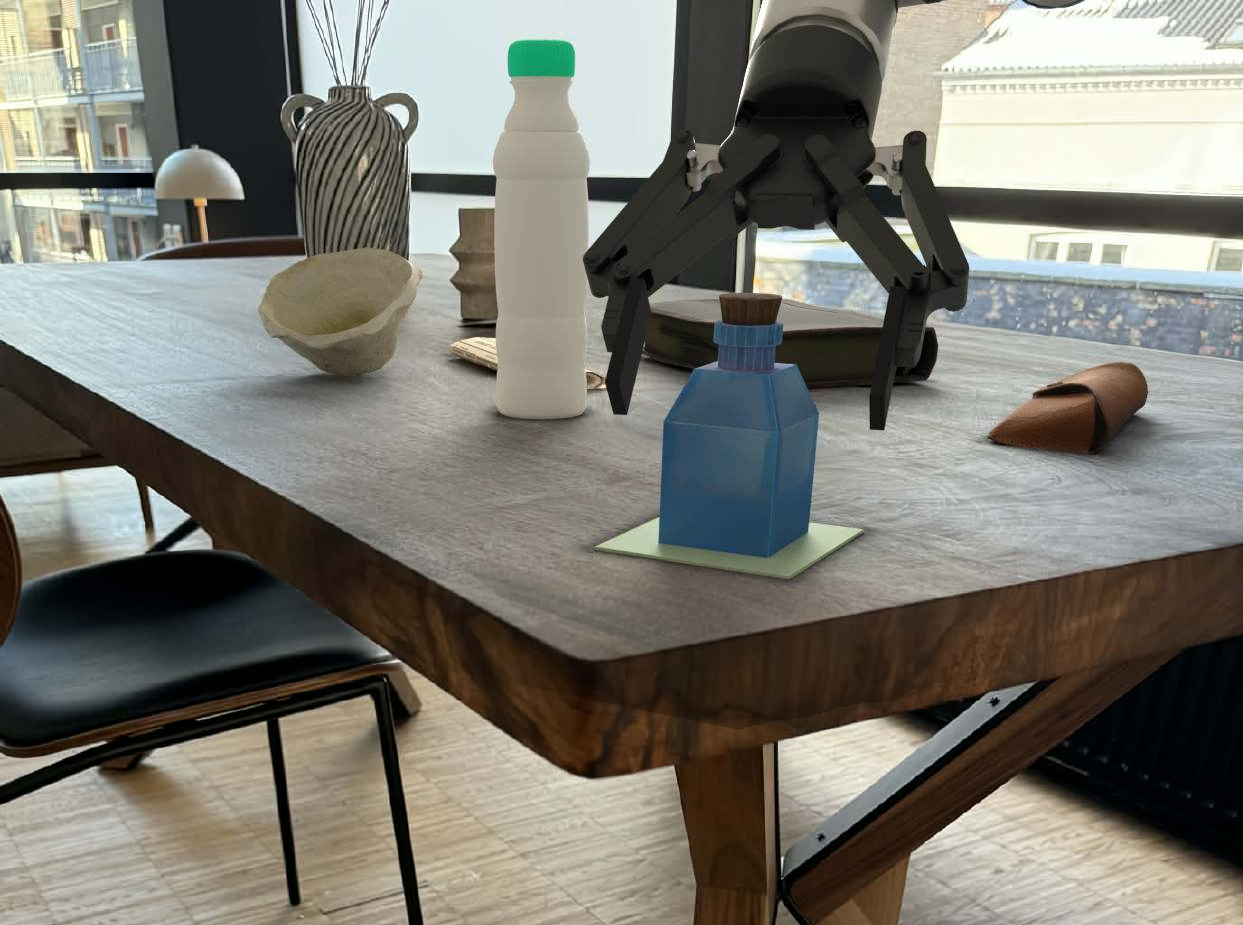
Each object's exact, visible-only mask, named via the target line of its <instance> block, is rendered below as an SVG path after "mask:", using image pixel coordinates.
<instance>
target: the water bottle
mask: <svg viewBox="0 0 1243 925" xmlns="http://www.w3.org/2000/svg"><path fill="white" fill-rule="evenodd" d="M507 73H508V77H510V80H509V83H510V84H511V86H512V87H513V90H514V100H513V102H512V104H511V105H512V106H511V108H510V109H509V111H508V112H507V115H506V117H505V120H504V126H503V131H502V132H500V134H499V135H500V136H499V137H498V140H497V143H496V145H495V148H494V151H493V157H492V168H493V169H492V170H493V172H494V176H495V178H496V181H495V193H494V194H495V196H494V214H493V215H494V217H493V218H494V220H493V222H494V223H493V226H494V227H493V229H494V230H493V235H494V236H493V239H494V240H493V241H494V242H493V245H494V247H493V250H494V279H495V280H494V281H495V295H496V296H495V297H496V305H497V313H498V314H497V318H496V325H495V339H496V351H497V358H498V370H497V372H496V384H495V404H496V410H497V411H498V412H499V414H501V415H503V416H506V417H509V418H513V419H515V418H516V419H523V420H559V419H561V420H562V419H569V418H575V417H579V416H581V415H582V414H583V413H584V412H585V411H586V408H587V403H588V402H587V401H588V400H587V399H588V389H587V383H586V371H585V369H586V356H587V350H588V326H587V319H586V306H587V297H588V296H587V295H588V284H589V282H588V278H587V275H586V271H585V267H584V263H583V256H584V254H585V253H586V252H587V250H588V249H589V248H590V246H589V244H590V242H589V241H590V218H589V216H590V212H589V192H588V181H587V178H588V177H589V174H590V169H591V156H590V151H589V148H588V145H587V143H586V140H585V137H584V135H583V132H581V131H579V130H580V125H579V124H580V123H579V120H578V117H577V115H576V113H575V111H574V110H573V107H572V105H571V102H570V99H569V98H570V97H569V93H570V92H569V91H570V88H571V86H572V85H573V84H574V80H573V78H574V77H575V73H576V52H575V47H574V46H573V44H572V43H571V42H570V41H567V40H562V39H545V38H544V39H542V38H541V39H540V38H539V39H519V40H515V41H513V42H512V43H511V44H510V45H509V47H508V52H507Z"/></svg>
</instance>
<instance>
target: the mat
mask: <svg viewBox="0 0 1243 925" xmlns="http://www.w3.org/2000/svg"><path fill="white" fill-rule="evenodd" d="M864 532H865V530H864V529H863V528H857V527H848V526H842V525H833V524H824V523H819V522H812V521H811V522H810V521H809V530H808V532H807V533H806V534H804V535H803V536H801V537H800V538H798V539H797V540H795V541H793V542H792V543H790V544H789V545H787V546H786V547H784V548H783V549H781V550H780V551H778V552H776V553H775V554H773V555H772V556H770V557H769V558H765V557H757V556H750V555H743V554H735V553H728V552H721V551H713V550H706V549H699V548H692V547H684V546H677V545H670V544H662V543H658V540H659V516H658V517H656V518H654V519H652V520H649V521H647V522H645V523H643V524H640V525H639V526H636V527H634V528H632V529H630V530H628V531H625V532H623V533H622V534H619V535H617V536H615V537H613V538H610V539H608V540H606V541H604V542H602V543H599V544H597V545H595V546H594V550H595V551H601V552H602V551H603V552H607V553H614V554H621V555H625V556H626V555H628V556H634V557H640V558H647V559H655V560H661V561H666V562H672V563H673V562H674V563H680V564H686V565H694V566H698V567H699V566H700V567H706V568H712V569H720V570H726V571H732V572H738V573H744V574H752V575H758V576H765V577H772V578H778V579H784V580H791V579H792V578H794V577H796V576H797V575H799V574H800V573H802V572H804V571H805V570H807V569H808V568H810V567H811V566H813V565H814V564H816V563H818V562H819V561H821V560H822V559H824V558H826V557H827V556H829V555H830V554H832V553H834V552H835V551H836V550H838V549H840V548H841V547H843V546H844V545H846V544H848V543H849V542H851V541H852V540H854V539H855V538H857V537H859V536H860V535H862V534H863V533H864Z"/></svg>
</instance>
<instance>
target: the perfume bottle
mask: <svg viewBox="0 0 1243 925" xmlns="http://www.w3.org/2000/svg"><path fill="white" fill-rule="evenodd" d="M718 299H719V300H720V307H721V314H722V319H721V320H717V321H715V323H714V340H713V341H714V343H716V344H719V352H718V361H717V362H714V363H711V364H708V365H705V366H702V367H698V368H695V369H692V372H691V373H690V376H688V378H687V381H686V382H685V384H684V386H683V387H682V389H681V391H680V393H679V394H678V395H677V397H676V399H675V401H674V402H673V404H672V406H671V408H670V409H669V411H668V413H667V415H666V416H665V418H664V419H663V421H662V447H661V467H660V468H661V470H660V491H659V492H660V494H659V516H658V517H659V540H658V543H662V544H670V545H677V546H684V547H692V548H699V549H706V550H713V551H721V552H728V553H735V554H743V555H750V556H757V557H765V558H769V557H770V556H772V555H773V554H775V553H776V552H778V551H780V550H781V549H783V548H784V547H786V546H787V545H789V544H790V543H792V542H793V541H795V540H797V539H798V538H800V537H801V536H803V535H804V534H806V533H807V532H808V530H809V522H810V517H811V508H812V507H811V506H812V497H813V487H814V477H815V476H814V474H815V464H816V453H817V443H818V442H817V441H818V432H819V420H820V412H819V410H818V408H817V405H816V404H815V401H814V399H813V397H812V395H811V393H810V391H809V388H807V386H806V384H805V382H804V380H803V378H802V376H801V374H800V371H799V369H798V367H797V365H795V364H782V363H775V351H776V345H780V344H782V335H783V322H781V321H776V319H777V315H778V312H779V308H780V304H781V301H782V299H783V295H781V294H774V293H764V292H730V293H729V292H728V293H721V294H718Z"/></svg>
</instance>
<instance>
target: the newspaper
mask: <svg viewBox="0 0 1243 925" xmlns="http://www.w3.org/2000/svg"><path fill="white" fill-rule="evenodd" d="M448 352H449V353H451V355H453V356H455V357H457V358H460V359H462V360H465V361H468V362H470V363H473V364H475V365H478V366H480V367H483V368H485V369H487V370H491V371H493V372H495V373H497V370H498V358H497V351H496V337H495V338H493V337H480V336H475V337H471V338H465V339H461V340H458V341H456V342H453V343H451V344H449V346H448ZM585 371H586V383H587V390H594V389H600V390H603V389H606V385H605V379H606V376H603V375H601V374H599V373H596V372H594V371H592V370H589V369H586V368H585Z"/></svg>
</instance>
